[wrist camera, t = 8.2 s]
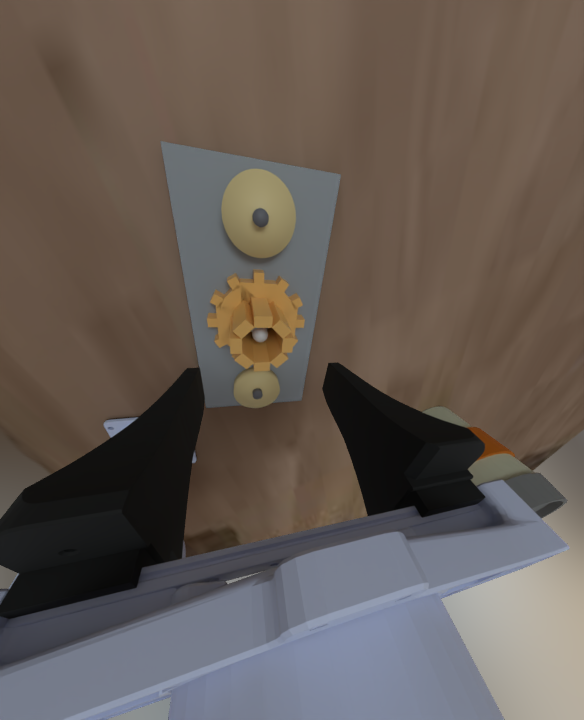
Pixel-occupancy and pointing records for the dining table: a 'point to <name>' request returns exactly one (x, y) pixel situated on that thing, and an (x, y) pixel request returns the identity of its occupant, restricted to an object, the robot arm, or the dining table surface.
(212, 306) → the gear board
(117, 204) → the dining table surface
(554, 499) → the reusable coffee cup
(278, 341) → the amber gear
